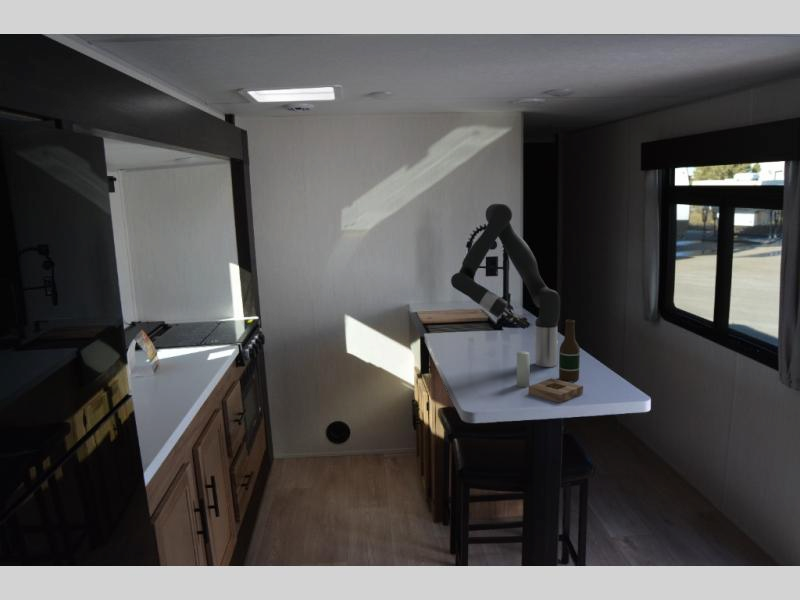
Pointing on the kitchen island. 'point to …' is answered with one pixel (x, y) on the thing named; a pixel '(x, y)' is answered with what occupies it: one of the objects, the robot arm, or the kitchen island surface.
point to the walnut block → (556, 390)
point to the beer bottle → (569, 355)
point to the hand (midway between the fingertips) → (527, 326)
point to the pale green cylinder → (523, 368)
